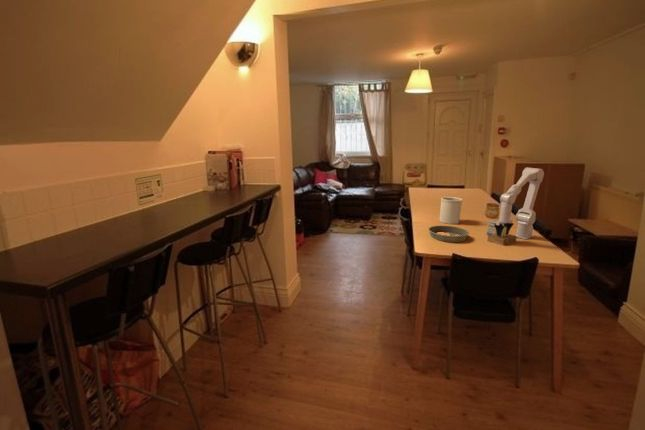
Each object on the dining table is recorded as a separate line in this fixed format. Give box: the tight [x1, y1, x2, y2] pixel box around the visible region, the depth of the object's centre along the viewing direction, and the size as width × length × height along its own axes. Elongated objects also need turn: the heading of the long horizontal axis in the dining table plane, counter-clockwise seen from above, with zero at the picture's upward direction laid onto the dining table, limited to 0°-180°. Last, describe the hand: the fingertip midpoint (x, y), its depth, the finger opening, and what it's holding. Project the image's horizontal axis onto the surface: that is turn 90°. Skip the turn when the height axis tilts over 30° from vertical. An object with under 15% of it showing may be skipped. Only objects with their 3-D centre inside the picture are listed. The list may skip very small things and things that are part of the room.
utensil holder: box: [439, 196, 464, 225], centre depth 257 cm, size 15×15×18 cm
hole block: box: [487, 233, 518, 246], centre depth 215 cm, size 14×10×4 cm
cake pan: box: [427, 225, 470, 243], centre depth 222 cm, size 25×25×4 cm
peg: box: [501, 227, 507, 237], centre depth 214 cm, size 3×3×9 cm
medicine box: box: [486, 220, 504, 236], centre depth 226 cm, size 8×4×9 cm, turn 45°
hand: (502, 235), depth 214 cm, fingers open, 7 cm apart
